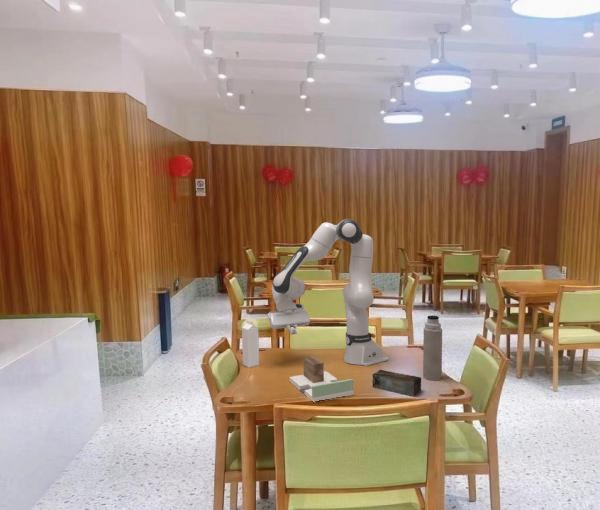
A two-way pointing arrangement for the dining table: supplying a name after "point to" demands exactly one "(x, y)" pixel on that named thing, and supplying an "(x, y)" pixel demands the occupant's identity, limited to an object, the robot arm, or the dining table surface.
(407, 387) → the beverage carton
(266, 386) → the dining table surface
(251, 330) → the milk
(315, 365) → the walnut block
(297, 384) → the grey tray
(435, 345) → the thermos bottle
